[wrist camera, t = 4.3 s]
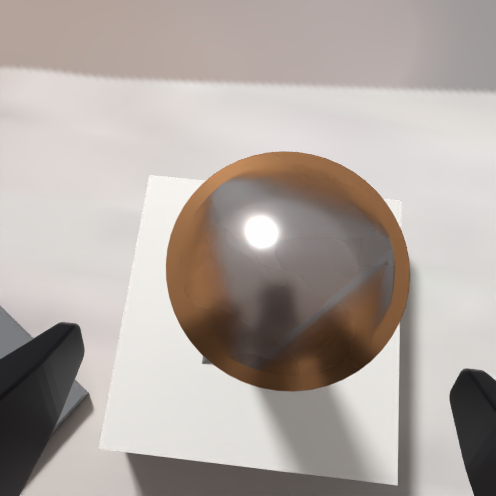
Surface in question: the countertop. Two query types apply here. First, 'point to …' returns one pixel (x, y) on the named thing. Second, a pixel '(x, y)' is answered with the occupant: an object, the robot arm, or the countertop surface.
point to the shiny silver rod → (287, 271)
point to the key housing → (235, 385)
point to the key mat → (13, 336)
